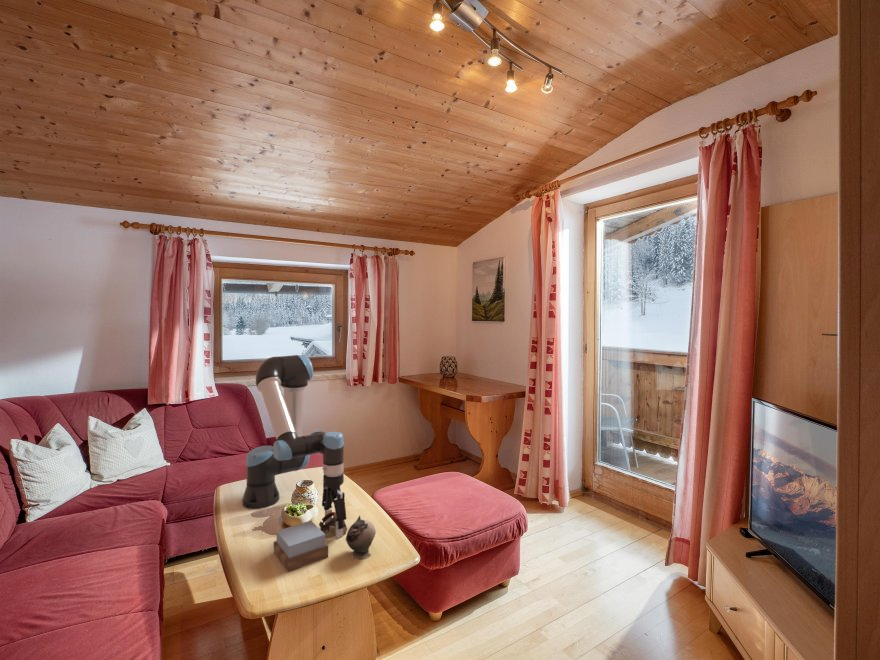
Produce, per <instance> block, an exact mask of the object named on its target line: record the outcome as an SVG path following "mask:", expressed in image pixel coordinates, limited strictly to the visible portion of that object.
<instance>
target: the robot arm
mask: <svg viewBox="0 0 880 660" xmlns="http://www.w3.org/2000/svg"><path fill="white" fill-rule="evenodd" d="M313 377H314V368H313V363H312V361H311V359H310V358H309V356H307V355H304V354H301V355H299V354H294V355H293V354H292V355H283V356H282V355H281V356H271V357H269V358H267V359H265V360H264V361H262V363H261V364H260V365H259V366H258V368H257V371H256V374H255V384H256V385H255V386H256V389H257V391H259V392H260V393H261V395H262V396H261V397H262V399H263V402H264V404H265V407H266V408H265V409H266V411H267V415H268V418H269V420H270V423H271V427H272V429H273V433H274V435H275V439H276V441H274V442H273V446H272V445H261V446H257V447H255V448H253V449H251V450H250V451H248V453H247V454H246V459H245V469H246V471H245V473H246V478H245V479H246V485H245V486H246V487H245V490H244V493H243V496H242V506H243V507H244V508H247V509H255V510H257V509H264V508H267V507H270V506H273V505H275V504H276V503H278V502H279V501H280V492H279V490H278V487H277V484H276V476H277V475H282V474H287V473H292V472H296V471H299V470H302V469H304V468H306V467H307V466H308V464H309V462H310V457H311V455H314V454H321V455H322V457H323V458H322V464H323V467H322V470H323V471H322V472H323V476H322V477H323V483H322V486H323V490H322V491H323V492H322V497H321V498H322V502H321V506H322V507H323V510H324V516H326V515H327V514H328V513H331V512H333V506H334V512H335V513H336V517H337V520H335V521H336V527H335V537H336V538H341V537H343V536H344V533H343V520H344V521H346V520H347V511H346V503H345V497H346V496H345V492H344V491H343V492H342V491H341V486H342V485H343V484H344V481H345V480H344V477H345V476H344V470H345V468H344V466H345V465H344V449H345V447H344V445H345V442H344V435H343V433H342V432H339V431H329V432H325V431H322V430H315V431H312V432H311V433H310V434H307V435H303V423H304V422H303V420H304V417H303V416H304V396H305V395H304V393H305V388H306V387H308V386H309V385H308V381H311V380H312V379H313ZM282 389H283V391H282ZM332 504H333V505H332ZM332 518H333V516H332V517H330V518H328V519H327V520H326V521H325V522H324V524H326V523H328V522H329V521H330V520H331V519H332Z"/></svg>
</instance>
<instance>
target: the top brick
mask: <svg viewBox="0 0 880 660" xmlns="http://www.w3.org/2000/svg"><path fill="white" fill-rule="evenodd" d="M275 533H276V541H277V544H278V545H279V546H280V547H281V549H282V550H283V551H284V552H285V554H286V555H287V556H288V558H292V557H295V556H298V555H301V554H303V553H306V552H309V551H312V550H315V549H317V548H320V547H323V546H325V543H326V533H324V532H322V531H321V530H320V527H318V526H317V525H316V524H315V523H314V522H313V521H312V520H308V521H305V522H301V523H299V524H294V525H291V526H289V527H285V528H282V529H280V530H276V531H275Z"/></svg>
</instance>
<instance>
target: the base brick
mask: <svg viewBox="0 0 880 660" xmlns="http://www.w3.org/2000/svg"><path fill="white" fill-rule="evenodd" d="M273 554H274V555H276V556H275V557H276V558H277V560H278V561H279V562H280V563H281V565H282V566H283V567H284V570H285V571H286V572H287V573H289V572H294V571H296V570H298V569H300V568H303V567H307V566H309V565H311V564H314V563H316V562H319V561H321V560H325V559H328V558H329V545H328V544H327V543H326V542H325V546H323V547H320V548H317V549H315V550H312V551H309V552H306V553H303V554H301V555H298V556H295V557H292V558H288V556H287V555H286V554H285V552H284V551H283V550H282V549H281V547H280V546H279V545H278V544H277V540H276V541H274V542H273Z"/></svg>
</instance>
